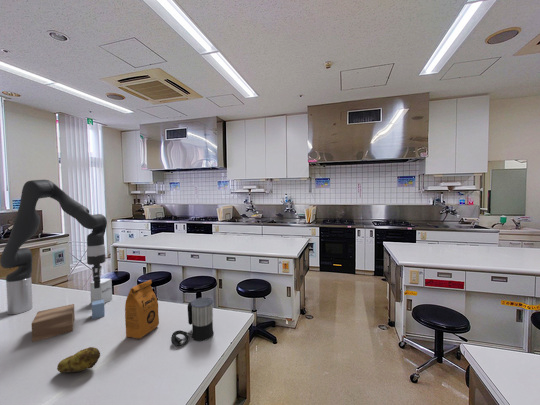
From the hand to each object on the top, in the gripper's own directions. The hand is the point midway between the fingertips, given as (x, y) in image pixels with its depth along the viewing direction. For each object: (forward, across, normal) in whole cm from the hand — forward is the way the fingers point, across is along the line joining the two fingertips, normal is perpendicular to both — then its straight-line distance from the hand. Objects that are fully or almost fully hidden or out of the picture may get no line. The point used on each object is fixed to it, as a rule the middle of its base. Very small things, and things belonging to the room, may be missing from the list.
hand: (97, 285), depth 120 cm
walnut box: (+16, +4, -16) cm, 23 cm away
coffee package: (+16, +30, +17) cm, 38 cm away
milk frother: (+16, +48, +34) cm, 61 cm away
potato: (+16, +44, -4) cm, 47 cm away
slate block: (+16, 0, 0) cm, 16 cm away
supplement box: (+16, -18, +1) cm, 24 cm away
